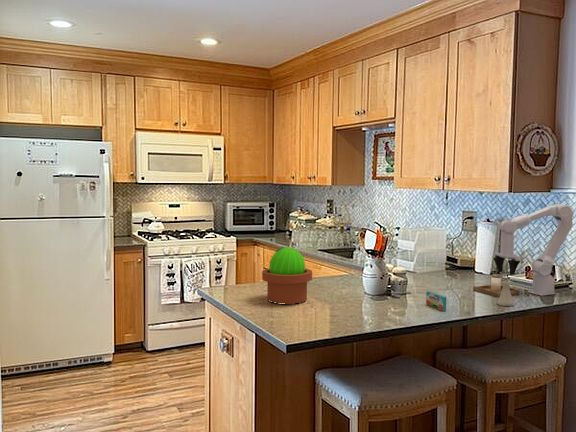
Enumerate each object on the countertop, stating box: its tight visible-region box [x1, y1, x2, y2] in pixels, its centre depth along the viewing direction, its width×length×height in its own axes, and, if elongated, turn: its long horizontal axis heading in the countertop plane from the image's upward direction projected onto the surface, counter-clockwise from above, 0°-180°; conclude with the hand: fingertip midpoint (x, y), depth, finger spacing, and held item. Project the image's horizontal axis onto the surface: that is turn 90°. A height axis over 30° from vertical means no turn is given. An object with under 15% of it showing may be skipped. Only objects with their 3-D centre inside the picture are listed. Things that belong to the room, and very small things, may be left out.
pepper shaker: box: [490, 273, 502, 292], centre depth 249 cm, size 4×4×8 cm
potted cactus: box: [261, 246, 313, 305], centre depth 232 cm, size 22×22×25 cm
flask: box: [496, 281, 515, 307], centre depth 226 cm, size 7×7×10 cm
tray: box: [473, 284, 520, 298], centre depth 250 cm, size 15×15×2 cm
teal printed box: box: [425, 290, 447, 312], centre depth 220 cm, size 12×2×6 cm, turn 20°
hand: (506, 273), depth 249 cm, fingers open, 7 cm apart
